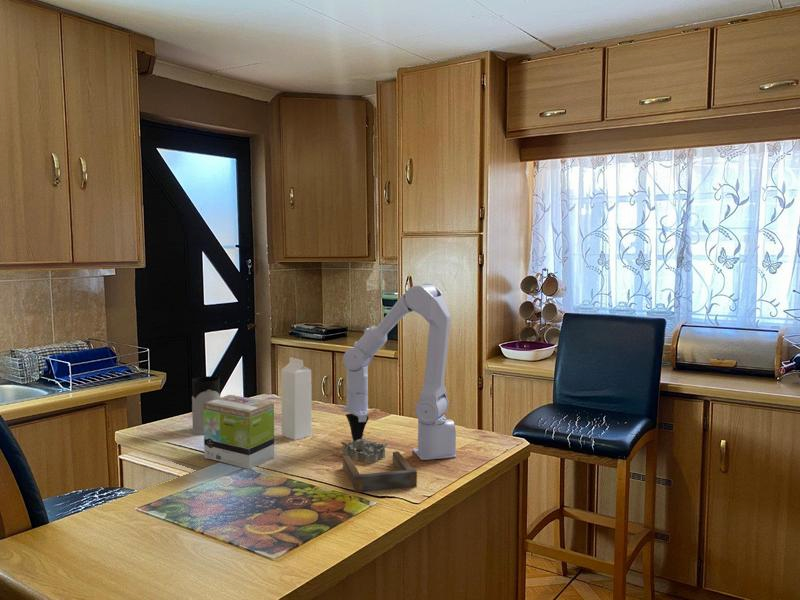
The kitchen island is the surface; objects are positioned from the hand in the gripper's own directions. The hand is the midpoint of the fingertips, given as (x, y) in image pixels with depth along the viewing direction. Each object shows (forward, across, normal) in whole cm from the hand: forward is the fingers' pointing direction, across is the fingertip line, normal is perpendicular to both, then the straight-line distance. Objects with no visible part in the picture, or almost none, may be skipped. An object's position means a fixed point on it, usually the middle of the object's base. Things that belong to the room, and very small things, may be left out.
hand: (357, 440), depth 173 cm
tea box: (+1, +4, -31) cm, 31 cm away
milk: (+1, -11, -15) cm, 19 cm away
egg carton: (+1, +10, 0) cm, 10 cm away
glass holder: (+1, -25, -40) cm, 47 cm away
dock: (+1, +24, 0) cm, 24 cm away
